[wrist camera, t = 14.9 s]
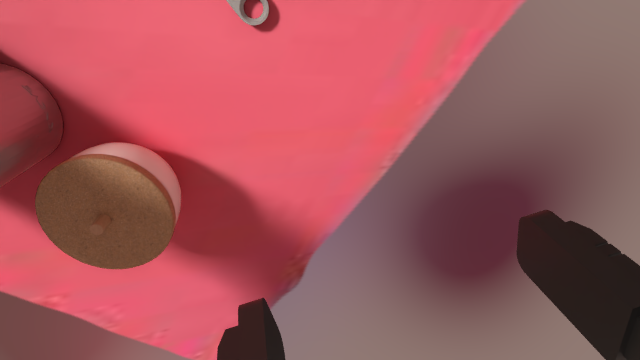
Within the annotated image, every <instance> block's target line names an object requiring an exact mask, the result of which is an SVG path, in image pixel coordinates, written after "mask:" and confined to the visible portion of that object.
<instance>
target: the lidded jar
mask: <svg viewBox="0 0 640 360" xmlns="http://www.w3.org/2000/svg"><path fill="white" fill-rule="evenodd" d="M35 207H36V214H37V217H38V220H39V223H40V225H41V227H42V229H43V230H44V232H45V233H46V235H47V236H48V238H49V239H50V240H51V241H52V242H53V243H54V244H55V245H56V246H57V247H58V248H60V249H61V250H62V251H63V252H64V253H66V254H68V255H69V256H71V257H73V258H75V259H77V260H79V261H81V262H83V263H86V264H89V265H92V266H96V267H100V268H107V269H126V268H133V267H136V266H140V265H143V264H145V263H147V262H150V261H151V260H153V259H154V258H156V257H157V256H158V255H160V254H161V253H162V252H163V251H164V249H165V248H166V247H167V245H168V244H169V241H170V239H171V237H172V235H173V232H174V229H175V226H176V223H177V221H178V217H179V213H180V209H181V188H180V185H179V182H178V179H177V177H176V175H175V172H174V171H173V169H172V168H171V167H170V165H169V164H168V163H167V162H166V161H165V160H164V159H163V158H162V157H160V156H159V155H158V154H156V153H155V152H153V151H151V150H150V149H147V148H145V147H143V146H139V145H136V144H131V143H121V142H112V143H105V144H101V145H97V146H94V147H90V148H88V149H86V150H84V151H82V152H80V153H78V154H76V155H74V156H73V157H71V158H70V159H68V160H66V161H64V162H62V163H60V164H59V165H58V166H56V167H55V168H53V169H52V170H51V171H50V172H48V174H47V175H46V176H45V177H44V178H43V179H42V181H41V183H40V185H39V186H38V189H37V193H36V199H35Z"/></svg>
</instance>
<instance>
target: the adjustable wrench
mask: <svg viewBox="0 0 640 360" xmlns="http://www.w3.org/2000/svg"><path fill="white" fill-rule="evenodd" d="M226 1H227V2H228V3H229V4H230V6H231V7H232V8H233V9H234V11H235V12H236V13H237V14H238V16H239V17H240V18H241V19H242V20H243V21H244V22H245V23H247V24H249V25H259V24H261V23H262V22H264V21H265V19H266V18H267V16H268V13H269V4H268V1H267V0H260V1H261V2H262V4H263V13H262V15H261V16H260V17H259V18H256V19H252V18H250V17H248V16H247V15H246V14H245V12H244V3H245V1H246V0H226Z"/></svg>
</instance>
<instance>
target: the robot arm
mask: <svg viewBox="0 0 640 360" xmlns="http://www.w3.org/2000/svg"><path fill="white" fill-rule="evenodd" d="M62 134H63V120H62V116H61V112H60V110H59V107H58V105H57V103H56V101H55V100H54V98H53V97H52V96H51V94H50V93H49V91H48V90H47V89H46V88H45V87H44V86H43V85H42V84H41V83H40V82H38V81H37V80H36V79H34V78H33V77H32V76H30V75H29V74H27V73H25V72H23V71H21V70H19V69H17V68H15V67H12V66H9V65H5V64H0V187H2V186H3V185H5V184H6V183H8V182H9V181H11V180H12V179H14V178H15V177H17V176H18V175H20V174H21V173H23V172H25V171H26V170H27V169H29V168H30V167H32V166H33V165H35V164H36V163H38V162H39V161H41V160H42V159H44V158H45V157H47V156H48V155H50V154H51V153H52V152H53V151H54V150H55V149H56V148H57V146H58V145H59V143H60V141H61V138H62ZM517 258H518V262H519V264H520V266H521V268H522V269H523V271H524V272H525V273H526V274H527V276H529V278H530V279H531V280H532V281H533V282H534V283H535V284H536V285H537V286H538V287H539V288H540V290H541V291H542V292H543V293H544V294H545V295H546V296H547V297H548V298H549V299H550V300H551V301H552V302H553V303H554V305H555V306H557V308H558V309H559V310H560V311H561V312H562V313H563V314H564V315H565V316H566V317H567V319H568V320H569V321H570V322H571V323H572V324H573V325H574V326H575V327H576V328H577V329H578V330H579V331H580V332H581V334H582V335H583V336H584V337H585V338H586V339H587V340H588V341H589V342H590V343H591V344H592V345H593V347H594V348H596V350H597V351H598V352H599V353H600V354H601V355H602V356H603V357H604V358H605V359H606V360H640V266H639V265H638V264H637V263H635V262H634V261H633V260H631V259H630V258H629V257H627V256H626V255H625V254H621V251H619V250H618V249H617V248H615V247H614V246H613V245H611V244H608V243H607V241H606V240H605V239H603V238H602V237H601V236H600V235H598V234H597V233H595V232H594V231H593V230H591V229H590V228H587V227H585V226H582V225H580V224H578V223H575V222H573V221H568V222H564V221H563V220H562V219H561V218H559V217H558V216H557V215H555V214H554V213H553V212H551V211H549V210H543V211H540V212H537V213H533V214H530V215H527V216H524V217H521V218H520V220H519V229H518V242H517ZM217 360H285V353H284V347H283V342H282V338H281V334H280V332H279V329H278V327H277V324H276V322H275V320H274V318H273V315H272V313H271V311H270V309H269V307H268V304H267V302H266V300H265V299H264V298H261V299H258V300H255V301H252V302H248V303H245V304H242V305H239V308H238V326H235V327H232V328H229V329H226V330H225V332H224V334H223V337H222V339H221V341H220V344H219V346H218V354H217Z"/></svg>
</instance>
